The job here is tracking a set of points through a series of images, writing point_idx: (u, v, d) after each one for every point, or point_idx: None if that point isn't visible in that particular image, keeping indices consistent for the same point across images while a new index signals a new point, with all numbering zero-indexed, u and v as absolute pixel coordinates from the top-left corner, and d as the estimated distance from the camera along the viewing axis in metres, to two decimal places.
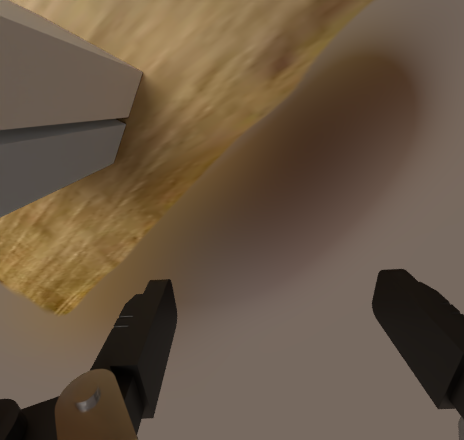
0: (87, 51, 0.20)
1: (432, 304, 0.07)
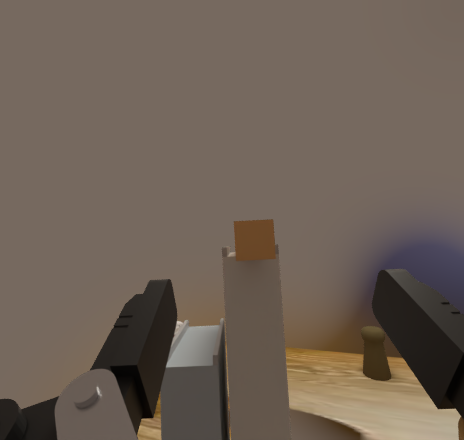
0: None
1: (432, 304, 0.07)
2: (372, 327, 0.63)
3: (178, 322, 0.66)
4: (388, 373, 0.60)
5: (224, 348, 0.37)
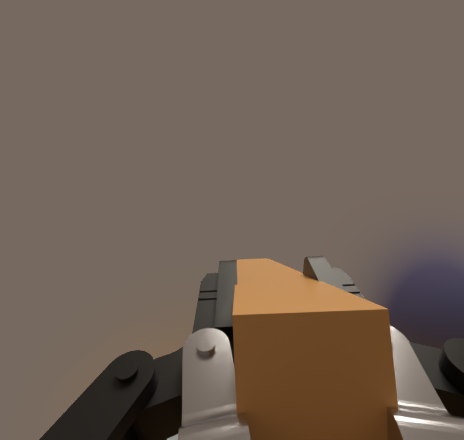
0: None
1: (333, 284, 0.09)
2: None
3: None
4: None
5: None
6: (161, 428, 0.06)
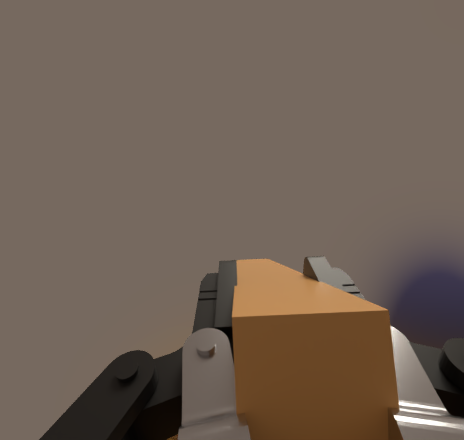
0: None
1: (333, 284, 0.09)
2: None
3: None
4: None
5: None
6: (161, 428, 0.06)
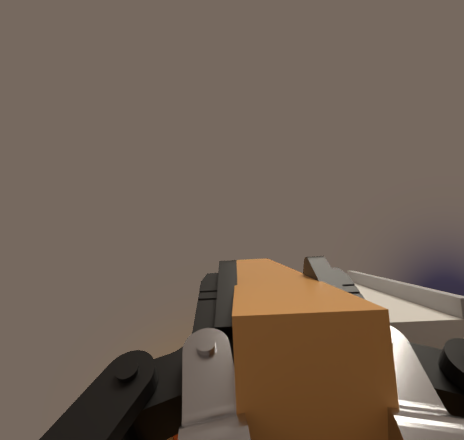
0: None
1: (333, 284, 0.09)
2: None
3: None
4: None
5: None
6: (161, 428, 0.06)
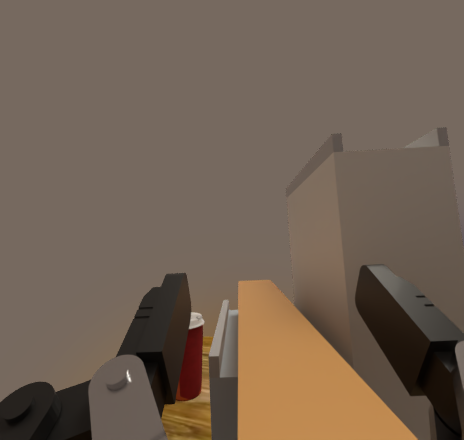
0: None
1: (406, 296, 0.08)
2: None
3: (195, 314, 0.52)
4: None
5: None
6: None
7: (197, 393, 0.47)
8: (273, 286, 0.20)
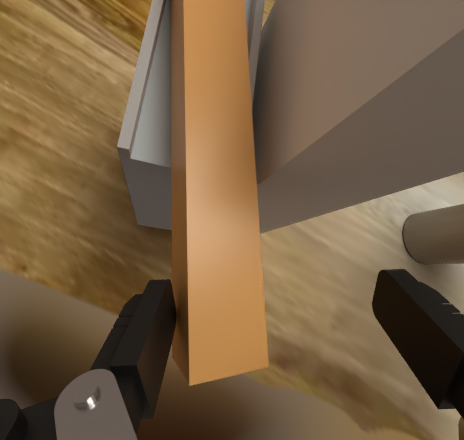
0: (282, 226, 0.23)
1: (432, 304, 0.07)
2: None
3: None
4: None
5: None
6: None
7: None
8: (240, 4, 0.12)
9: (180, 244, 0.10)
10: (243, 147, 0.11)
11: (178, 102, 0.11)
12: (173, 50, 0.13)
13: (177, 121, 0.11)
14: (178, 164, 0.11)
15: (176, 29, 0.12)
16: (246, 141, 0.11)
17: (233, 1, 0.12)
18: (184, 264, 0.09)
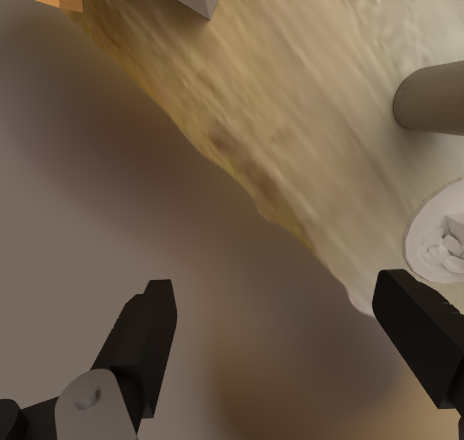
0: None
1: (432, 304, 0.07)
2: None
3: None
4: None
5: None
6: None
7: None
8: None
9: None
10: None
11: None
12: None
13: None
14: None
15: None
16: None
17: None
18: None
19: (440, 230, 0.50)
